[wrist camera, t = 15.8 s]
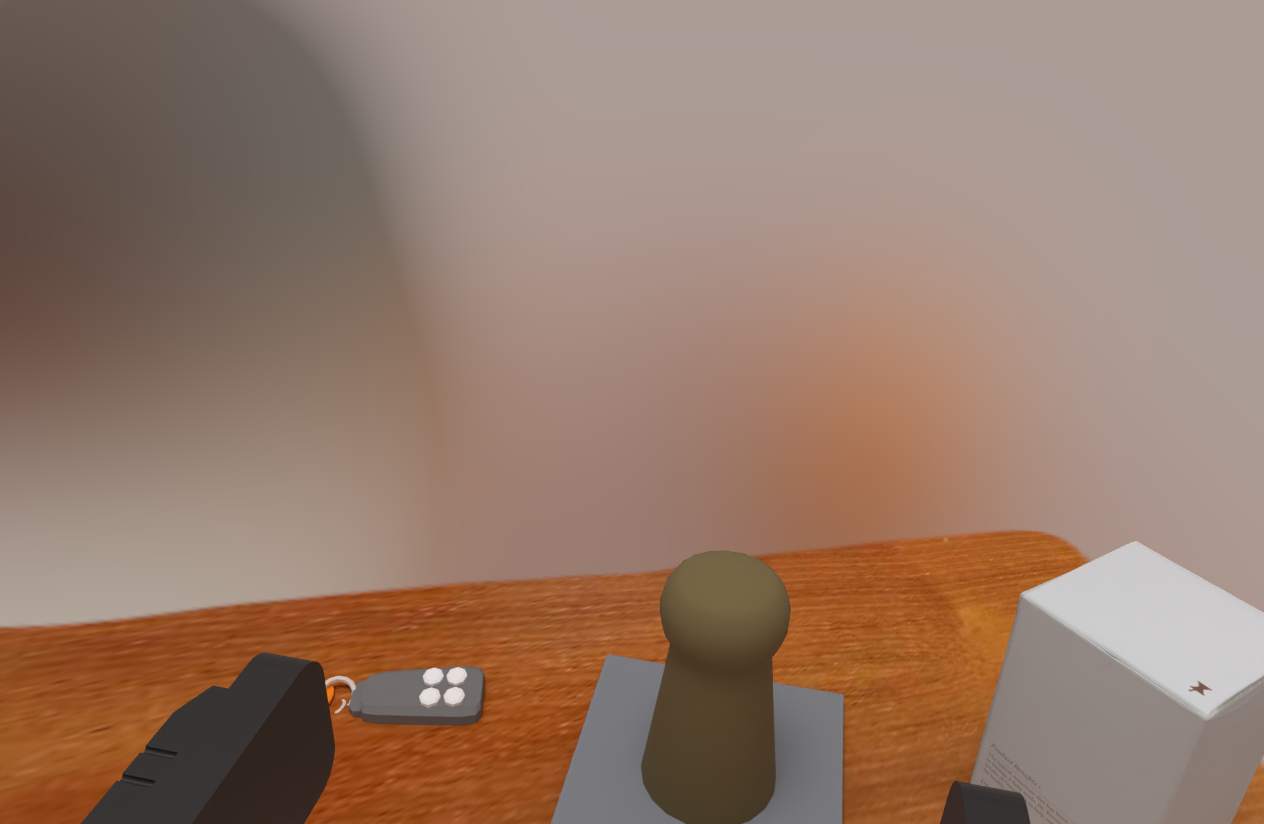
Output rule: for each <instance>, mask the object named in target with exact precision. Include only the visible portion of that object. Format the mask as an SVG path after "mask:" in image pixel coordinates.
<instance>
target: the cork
mask: <svg viewBox="0 0 1264 824" xmlns="http://www.w3.org/2000/svg"><path fill="white" fill-rule="evenodd" d="M790 610H791V608H790V601H789V597H788V594H787V591H786V588H785V586H784V584H783V582H782V581H781V579H780V577H779V576H778V575H777V574H776V573H775V572H774V570H773V569H772V568H771V567H770V566H768V565H767V564H765V563H763V562H762V561H760V560H759V559H757V558H754V557H751V556H748V555H746V554H743V553H737V552H731V551H709V552H704V553H700V554H696V555H694V556H692V557H690V558H688V559H686V560H684V561H683V562H682V563H681V564H680V565H679V566H678V567H677V568H676V569H675V570H674V571H673V572H672V574H671V575H670V576H669V577H668V579H667V581H666V584H665V587H664V590H663V593H662V596H661V599H660V614H661V620H662V625H663V629H664V633H665V636H666V638H667V639H668V641H669V642H670V647H669V651H668V655H667V659H666V663H665V668H664V672H663V676H662V680H661V684H660V688H659V692H658V697H657V701H656V705H655V709H654V713H653V717H652V722H651V726H650V730H649V734H648V738H647V742H646V747H645V751H644V755H643V759H642V763H641V771H642V779H643V784H644V786H645V788H646V790H647V792H648V794H649V795H650V797H651V799H652V800H653V801H654V802H655V803H656V804H657V805H658V806H659V807H660V808H661V809H662V810H663V811H664V812H665V813H666V814H668V815H670V816H672V817H673V818H675V819H677V820H679V821H681V822H683V823H685V824H743V823H745V822H748V821H751V820H752V819H753V818H754V817H756V816H757V815H758V814H759V813H761V812H762V811H763V810H764V809H765V808H766V807H767V805H768V803H769V801H770V800H771V798H772V796H773V794H774V789H775V781H776V761H775V731H774V701H773V671H772V656H774V655H775V653H776V652H777V650H778V649H779V647H780V646H781V644H782V643H783V641H784V639H785V637H786V635H787V631H788V625H789V618H790Z"/></svg>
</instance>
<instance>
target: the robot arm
mask: <svg viewBox="0 0 1264 824" xmlns="http://www.w3.org/2000/svg"><path fill="white" fill-rule="evenodd" d="M334 752H335V743H334V735H333V729H332V722H331V716H330V709H329V703H328V697H327V690H326V684H325V677H324V672H323V669H322V666H321V665H320V664H319V663H318V662H315V661H310V660H304V659H299V658H293V657H288V656H282V655H277V654H271V653H265V652H264V653H260V654H258V655H257V656H255V657H254V658H253V659H252V660H251V661H250V662H249V663H248V665H247V666H246V667H245V668H244V670H243V671H242V672H241V674H240V675H239V676H238V677H237V679H236V680H235V681H234V682H233V684H232V685H231V686H230V687H229V689H227V688H222V687H217V686H212V687H210V688H209V689H207V690H206V691H204V692H203V693H201V694H200V695H198V696H197V697H195V698H194V699H193V700H191V701H190V702H188V703H187V704H185V705H184V706H182V707H181V708H179V709H178V710H176V711H175V712H174V713H173V714H172V715H171V716H170V717H169V719H168V720H167V721H166V722H165V723H164V725H163V726H162V727H161V728H160V729H159V731H158V732H157V733H156V734H155V735H154V737H153V738H152V739H151V740H150V741H149V743H148V744H147V745H146V749H145V751H144V753H139V755H138V756H137V757H136V758H135V759H134V761H133V762H132V763H131V764H130V765H129V767H128V768H127V769H126V770H125V771H124V773H123V776H122V779H121V780H120V781H116V782H115V783H114V785H113V786H112V787H111V788H110V789H109V791H108V792H107V793H106V794H105V795H104V797H103V798H102V799H101V800H100V801H99V803H98V804H97V805H96V806H95V807H94V809H93V810H92V811H91V812H90V813H89V815H88V816H87V817H86V818H85V819H84V820H83V822H82V823H81V824H304V823H305V821H306V819H307V818H308V816H309V814H310V813H311V811H312V809H313V808H314V806H315V804H316V803H317V801H318V799H319V798H320V796H321V794H322V792H323V790H324V788H325V786H326V784H327V781H328V779H329V776H330V772H331V769H332V765H333V760H334ZM940 824H1030V819H1029V814H1028V809H1027V805H1026V802H1025V799H1024V797H1023V795H1022V794H1021V793H1019V792H1014V791H1008V790H1003V789H997V788H992V787H986V786H981V785H975V784H970V783H964V782H959V781H955V782H954V783H953V784H952V786H951V788H950V791H949V795H948V798H947V802H946V805H945V808H944V812H943V815H942V819H941V822H940Z"/></svg>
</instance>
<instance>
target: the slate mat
mask: <svg viewBox="0 0 1264 824" xmlns="http://www.w3.org/2000/svg"><path fill="white" fill-rule="evenodd" d="M664 668H665V664H661V663H655V662H649V661H643V660H638V659H632V658H626V657H620V656H614V655H608V654H607V656H606V659H605V662H604V665H603V668H602V671H601V674H600V677H599V680H598V683H597V686H596V689H595V692H594V695H593V698H592V701H591V704H590V707H589V710H588V713H587V716H586V719H585V722H584V725H583V728H582V731H581V734H580V737H579V740H578V743H577V746H576V749H575V752H574V755H573V758H572V761H571V764H570V767H569V770H568V773H567V776H566V779H565V782H564V785H563V788H562V791H561V794H560V797H559V800H558V803H557V806H556V810H555V813H554V816H553V819H552V822H551V824H685V823H683V822H681V821H679V820H677V819H675V818H673V817H672V816H670V815H668V814H666V813H665V812H664V811H663V810H662V809H661V808H660V807H659V806H658V805H657V804H656V803H655V802H654V801H653V800H652V799H651V797H650V795H649V794H648V792H647V790H646V788H645V786H644V784H643V779H642V771H641V763H642V759H643V755H644V751H645V747H646V742H647V738H648V734H649V730H650V726H651V722H652V717H653V713H654V709H655V705H656V701H657V697H658V692H659V688H660V684H661V680H662V676H663V672H664ZM843 696H844V695H843V694H837V693H831V692H825V691H819V690H813V689H808V688H802V687H796V686H790V685H784V684H778V683H773V701H774V731H775V761H776V781H775V789H774V794H773V796H772V798H771V800H770V801H769V803H768V805H767V807H766V808H765V809H764V810H763V811H762V812H761V813H759V814H758V815H757V816H756V817H754V818H753V819H752V820H751V821H748V822H745V823H743V824H842V785H843Z"/></svg>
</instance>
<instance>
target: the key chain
mask: <svg viewBox="0 0 1264 824" xmlns="http://www.w3.org/2000/svg"><path fill="white" fill-rule="evenodd" d="M337 681H340V682H345V683H346V684H348V685H349V686H350V688H351V690H352V696H351V699H350V701H349V703H348V704H347V705H349V710H350V712H351V714H352V716H353V717H361V718H362V719H363V721H364V722H370V723H377V724H410V725H468V724H474V723H477V721H478V720H479V719H480V717H481V713H482V706H483V698H484V673H483V671H482V670H481V668H476V667H469V666H464V667H448V668H435V667H434V668H431V669H417V670H403V671H389V672H383V673H378V674H373V675H371V676H370V677H369V678H368V679H367V680H366V681H360V682H359V683H358V684H357V685H355V683H354V682H353V681H352V680H351V679H349V678H348V677H343V676H336V677H332V678H329V679H328V680H327V681H326V680H325V684H326V690H327V697H328V703H329V704H330V703H331V701H332V699H333V697H334V687H333V685H332V684H331V683H334V682H337ZM342 702H343V704H342V706H341V707H340V708H339V709H338V710H337V711H336V712H335V713H339V712H340V711H342V710H343V709H344V707H345V705H346V701H345V700H344V699H342Z"/></svg>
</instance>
